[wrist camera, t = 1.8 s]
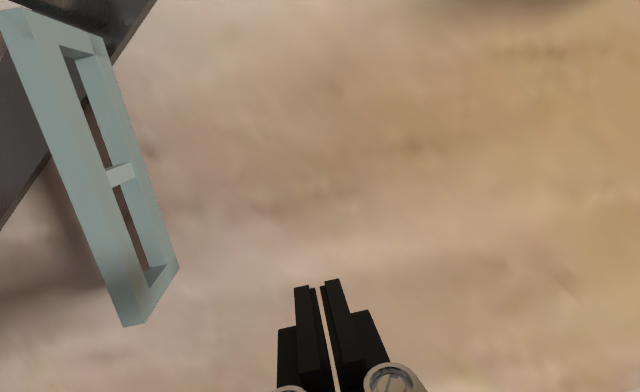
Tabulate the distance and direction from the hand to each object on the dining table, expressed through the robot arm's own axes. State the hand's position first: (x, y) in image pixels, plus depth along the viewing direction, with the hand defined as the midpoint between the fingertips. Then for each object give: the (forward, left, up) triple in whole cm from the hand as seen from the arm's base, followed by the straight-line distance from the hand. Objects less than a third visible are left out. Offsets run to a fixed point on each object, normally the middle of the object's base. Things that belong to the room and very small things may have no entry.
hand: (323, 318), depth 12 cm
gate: (-12, -7, -19) cm, 23 cm away
